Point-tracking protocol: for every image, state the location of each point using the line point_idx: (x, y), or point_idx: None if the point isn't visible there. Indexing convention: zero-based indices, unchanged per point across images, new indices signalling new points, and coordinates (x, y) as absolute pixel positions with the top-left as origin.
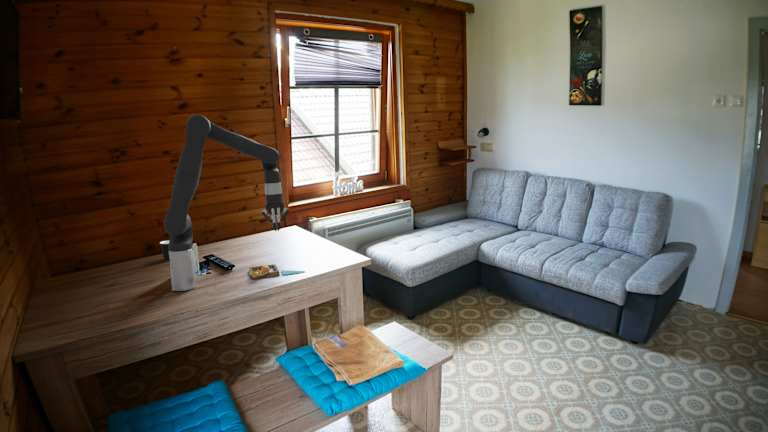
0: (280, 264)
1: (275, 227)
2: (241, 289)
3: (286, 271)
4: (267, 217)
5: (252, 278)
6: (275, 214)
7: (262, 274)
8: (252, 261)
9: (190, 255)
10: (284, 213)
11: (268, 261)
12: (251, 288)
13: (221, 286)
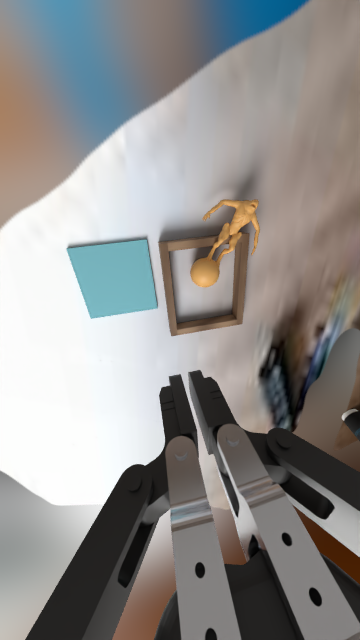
0: (155, 362)
1: (202, 389)
2: (295, 98)
3: (136, 277)
4: (342, 483)
5: (242, 232)
6: (250, 571)
7: (220, 202)
8: None
9: None
10: (92, 632)
11: None
12: (263, 93)
13: (334, 181)
